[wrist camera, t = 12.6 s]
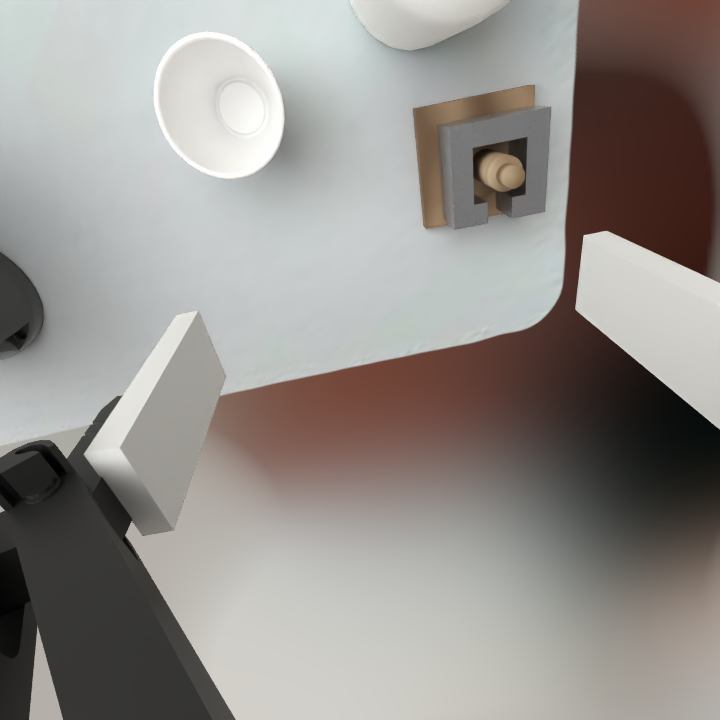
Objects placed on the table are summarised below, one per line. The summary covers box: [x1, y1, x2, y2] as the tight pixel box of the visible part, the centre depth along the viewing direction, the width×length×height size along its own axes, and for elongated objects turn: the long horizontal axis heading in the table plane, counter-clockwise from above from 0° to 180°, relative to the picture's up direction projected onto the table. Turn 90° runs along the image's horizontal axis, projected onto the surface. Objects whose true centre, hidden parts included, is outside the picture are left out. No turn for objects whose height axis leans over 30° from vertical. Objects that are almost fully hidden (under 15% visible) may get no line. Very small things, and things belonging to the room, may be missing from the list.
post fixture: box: [413, 85, 535, 229], centre depth 41 cm, size 12×12×12 cm
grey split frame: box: [437, 106, 551, 229], centre depth 41 cm, size 9×9×4 cm
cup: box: [154, 32, 285, 179], centre depth 38 cm, size 10×10×11 cm
